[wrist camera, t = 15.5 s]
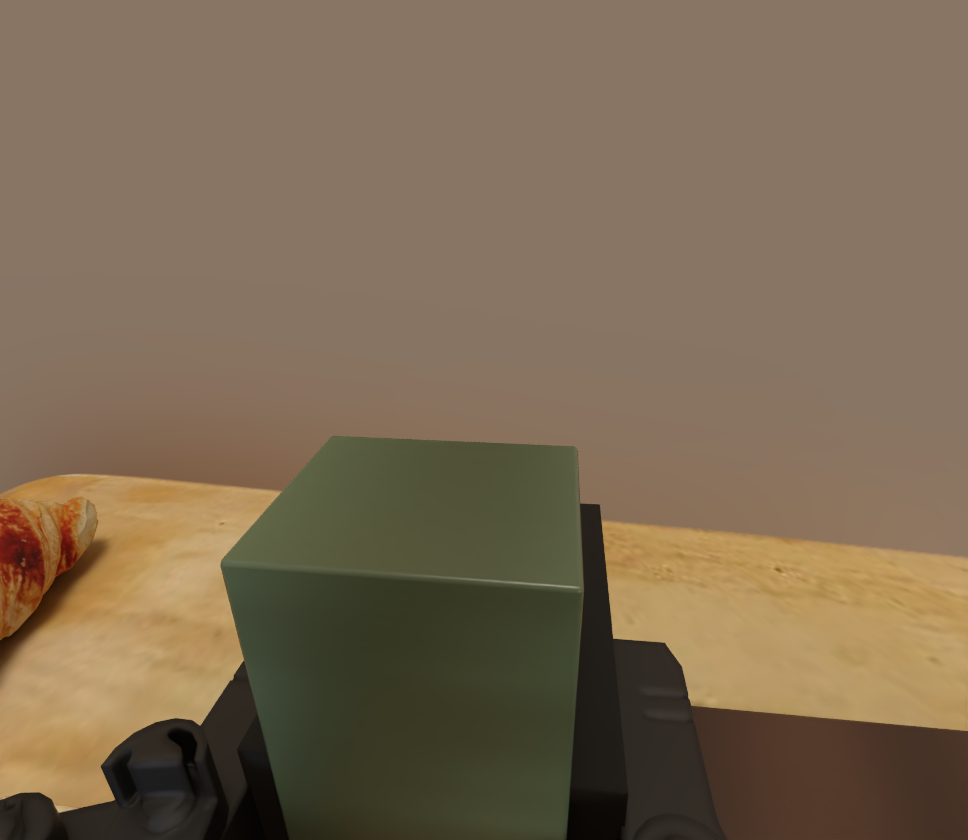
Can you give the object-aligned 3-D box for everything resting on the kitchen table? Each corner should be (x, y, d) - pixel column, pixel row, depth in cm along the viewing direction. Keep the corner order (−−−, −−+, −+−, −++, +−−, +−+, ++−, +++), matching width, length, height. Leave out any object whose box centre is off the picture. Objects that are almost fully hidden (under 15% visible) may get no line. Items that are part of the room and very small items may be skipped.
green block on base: (582, 757, 15) (612, 375, 10) (603, 1489, 7) (780, 1090, 2) (396, 736, 15) (354, 368, 11) (203, 1378, 7) (-231, 911, 3)
